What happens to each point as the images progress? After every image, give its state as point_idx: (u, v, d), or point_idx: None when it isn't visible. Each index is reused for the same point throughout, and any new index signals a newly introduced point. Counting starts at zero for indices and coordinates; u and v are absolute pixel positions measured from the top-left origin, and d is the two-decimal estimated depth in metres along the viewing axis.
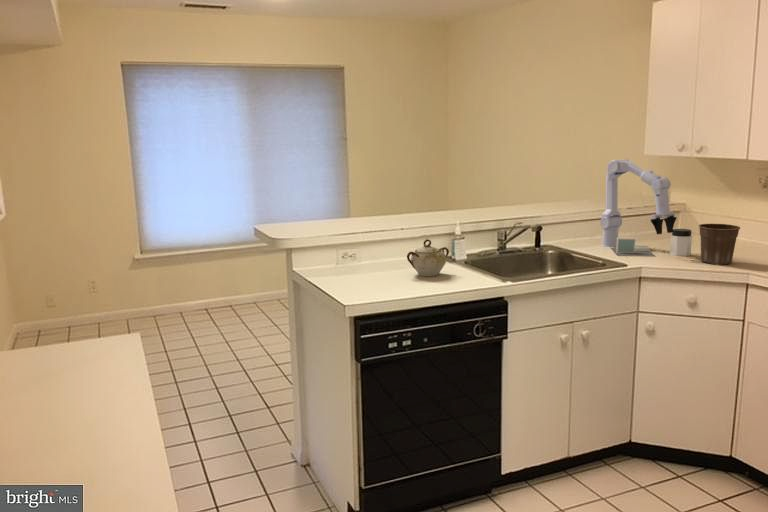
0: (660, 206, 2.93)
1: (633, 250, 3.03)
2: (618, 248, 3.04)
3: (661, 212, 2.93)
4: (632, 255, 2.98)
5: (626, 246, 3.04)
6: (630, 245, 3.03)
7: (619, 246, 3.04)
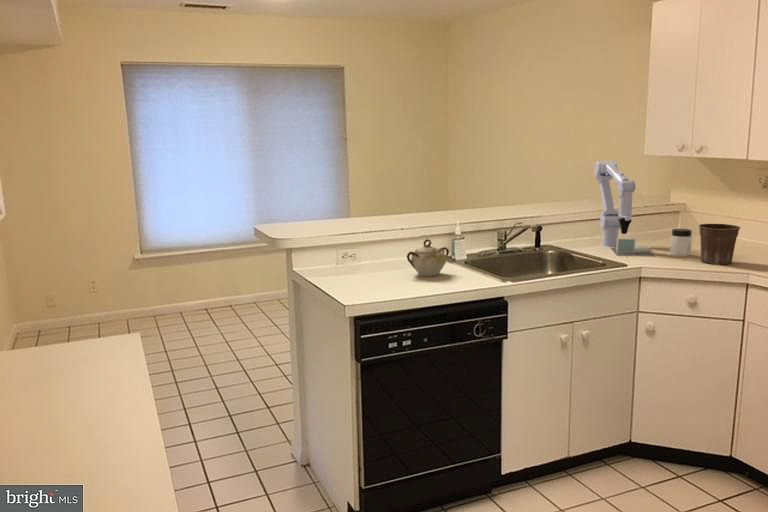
0: (628, 208, 3.04)
1: (633, 250, 3.03)
2: (618, 248, 3.04)
3: (628, 214, 3.05)
4: (632, 255, 2.98)
5: (626, 246, 3.04)
6: (630, 245, 3.03)
7: (619, 246, 3.04)
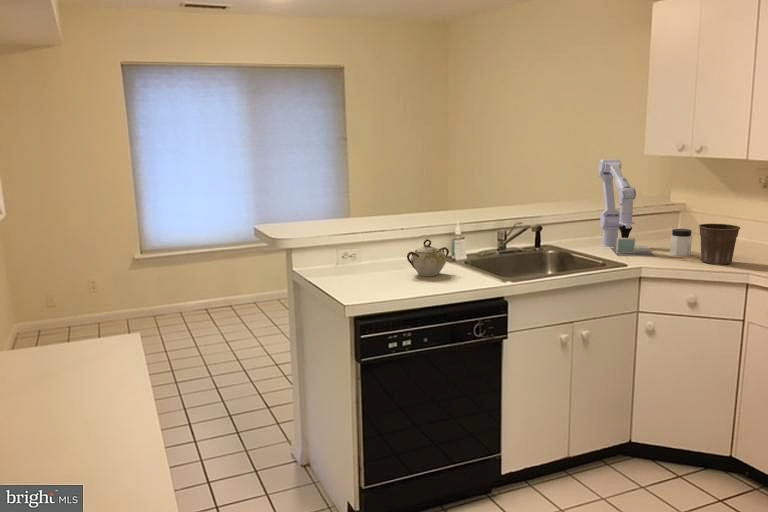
0: (629, 215, 3.02)
1: (633, 250, 3.03)
2: (618, 248, 3.04)
3: (629, 221, 3.03)
4: (632, 255, 2.98)
5: (626, 246, 3.04)
6: (630, 245, 3.03)
7: (619, 246, 3.04)
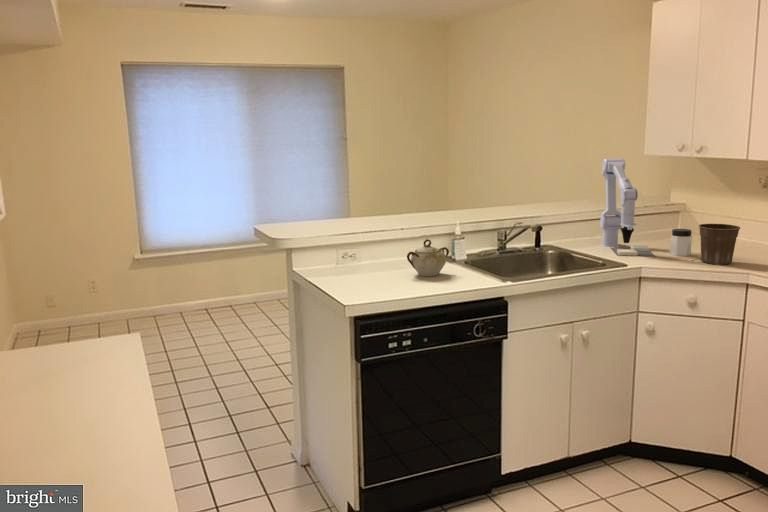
0: (630, 217, 2.98)
1: None
2: None
3: (630, 223, 2.99)
4: None
5: None
6: None
7: None
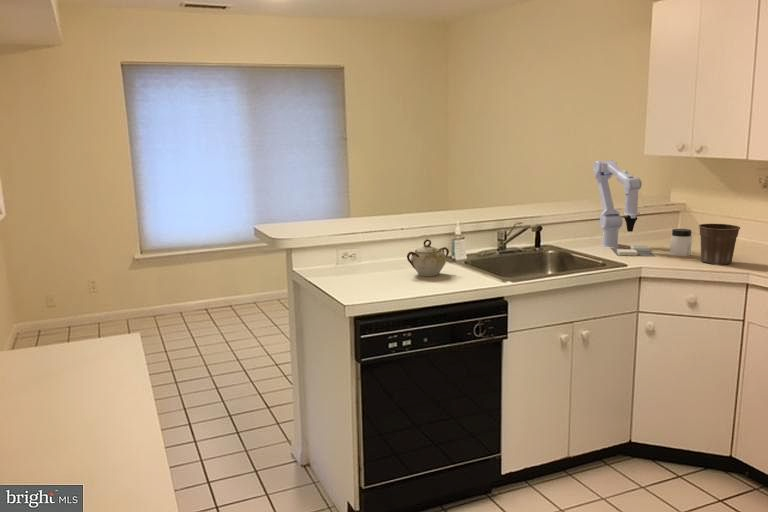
0: (634, 205, 3.03)
1: None
2: None
3: (634, 211, 3.03)
4: None
5: None
6: None
7: None
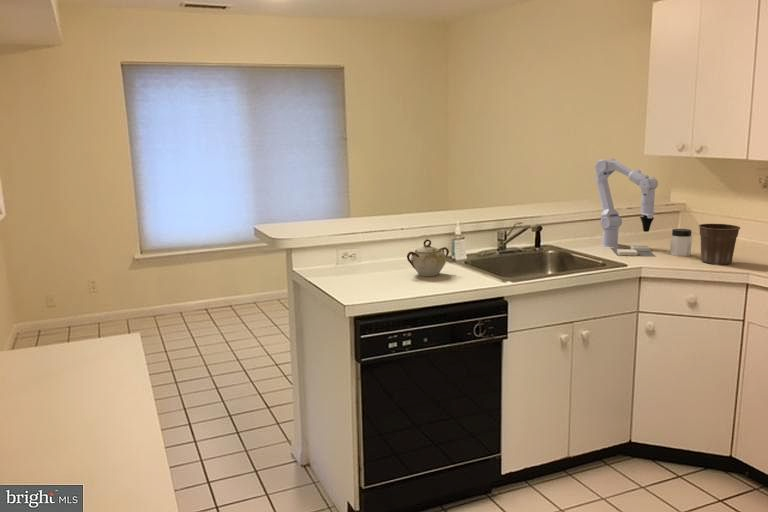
0: (650, 205, 3.02)
1: None
2: None
3: (650, 211, 3.03)
4: None
5: None
6: None
7: None
